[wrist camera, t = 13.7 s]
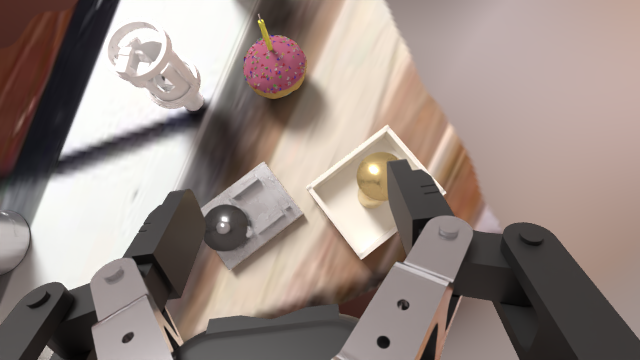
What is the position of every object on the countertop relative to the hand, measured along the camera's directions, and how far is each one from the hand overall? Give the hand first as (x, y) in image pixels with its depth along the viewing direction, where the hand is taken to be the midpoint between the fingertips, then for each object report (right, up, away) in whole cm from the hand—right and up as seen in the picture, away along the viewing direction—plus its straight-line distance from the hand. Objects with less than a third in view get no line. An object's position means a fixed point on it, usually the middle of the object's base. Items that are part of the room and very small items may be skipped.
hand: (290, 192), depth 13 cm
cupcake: (-4, +15, +35) cm, 38 cm away
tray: (+8, -1, +30) cm, 32 cm away
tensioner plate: (-9, -4, +31) cm, 33 cm away
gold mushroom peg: (+8, -1, +30) cm, 31 cm away
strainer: (-18, +12, +35) cm, 41 cm away
